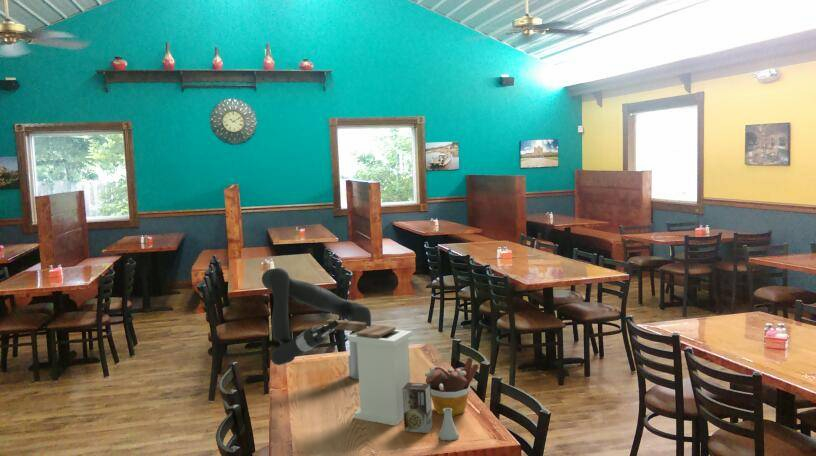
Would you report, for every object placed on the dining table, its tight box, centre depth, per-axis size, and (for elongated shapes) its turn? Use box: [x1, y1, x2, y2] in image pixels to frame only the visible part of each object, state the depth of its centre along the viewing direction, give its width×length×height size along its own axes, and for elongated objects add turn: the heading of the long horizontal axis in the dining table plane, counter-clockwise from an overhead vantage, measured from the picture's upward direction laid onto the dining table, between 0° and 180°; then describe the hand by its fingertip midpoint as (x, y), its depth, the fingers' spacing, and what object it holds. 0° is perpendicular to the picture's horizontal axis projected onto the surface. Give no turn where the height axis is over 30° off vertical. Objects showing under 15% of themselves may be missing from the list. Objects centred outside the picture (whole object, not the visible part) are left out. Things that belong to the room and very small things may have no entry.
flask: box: [438, 408, 460, 442], centre depth 229 cm, size 7×7×10 cm
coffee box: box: [402, 382, 434, 434], centre depth 236 cm, size 9×6×16 cm
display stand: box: [347, 329, 413, 426], centre depth 249 cm, size 20×14×32 cm
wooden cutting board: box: [325, 318, 397, 338], centre depth 252 cm, size 27×12×3 cm, turn 61°
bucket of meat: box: [424, 356, 479, 417], centre depth 251 cm, size 20×16×20 cm
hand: (339, 321), depth 256 cm, fingers closed on wooden cutting board, 3 cm apart
